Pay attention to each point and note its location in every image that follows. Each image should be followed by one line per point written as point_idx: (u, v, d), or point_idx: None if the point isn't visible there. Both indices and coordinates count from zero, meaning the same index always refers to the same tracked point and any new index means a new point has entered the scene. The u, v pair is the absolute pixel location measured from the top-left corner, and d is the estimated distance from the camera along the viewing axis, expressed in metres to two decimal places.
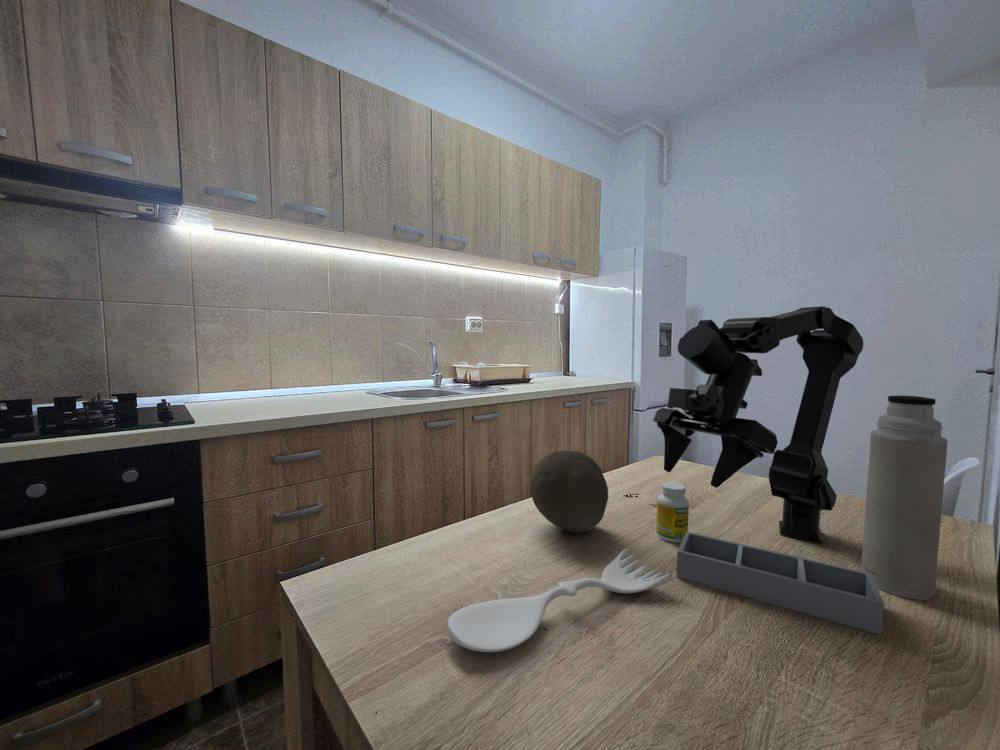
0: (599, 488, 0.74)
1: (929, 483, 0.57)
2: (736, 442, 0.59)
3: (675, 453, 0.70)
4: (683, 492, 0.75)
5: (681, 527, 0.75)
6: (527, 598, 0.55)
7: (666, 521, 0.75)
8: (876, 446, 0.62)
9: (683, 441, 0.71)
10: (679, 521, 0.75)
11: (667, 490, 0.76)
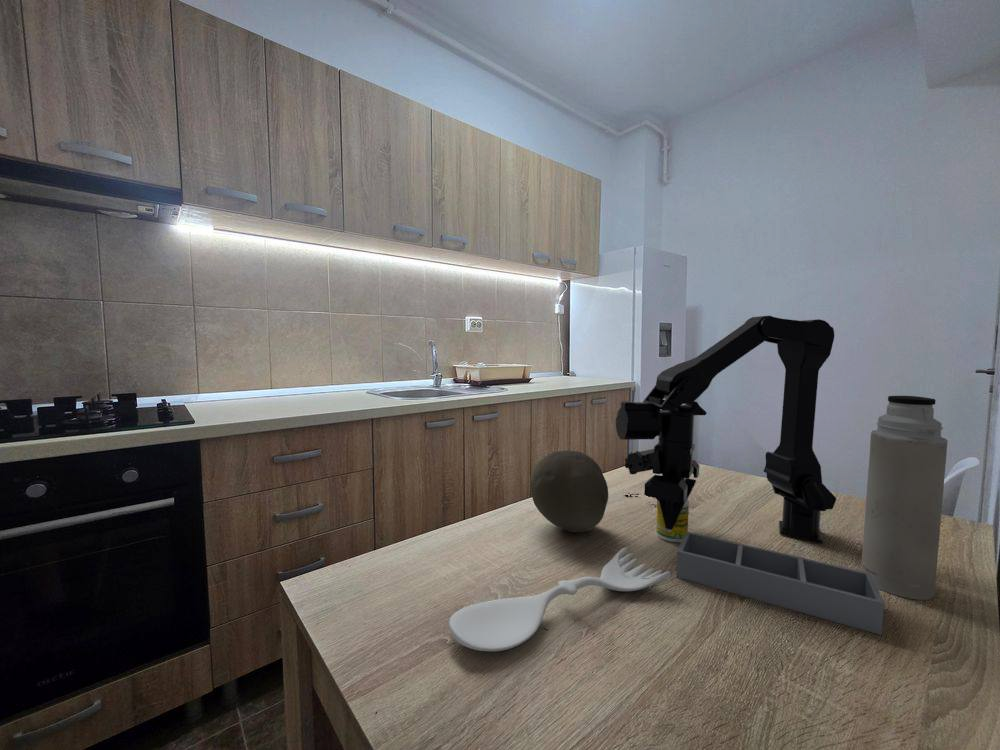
0: (599, 488, 0.74)
1: (929, 483, 0.57)
2: None
3: None
4: None
5: (681, 526, 0.75)
6: (528, 597, 0.55)
7: None
8: (876, 446, 0.62)
9: None
10: (679, 521, 0.75)
11: None
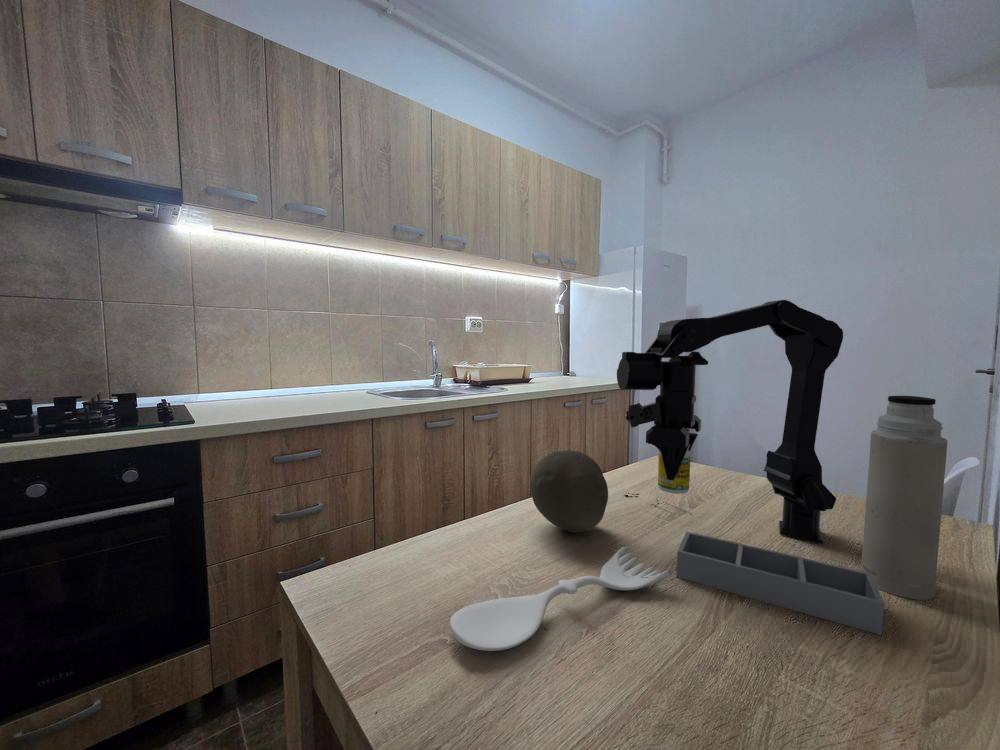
0: (599, 487, 0.74)
1: (929, 483, 0.57)
2: None
3: None
4: None
5: (683, 477, 0.74)
6: (528, 597, 0.55)
7: None
8: (876, 446, 0.62)
9: None
10: (681, 472, 0.74)
11: None
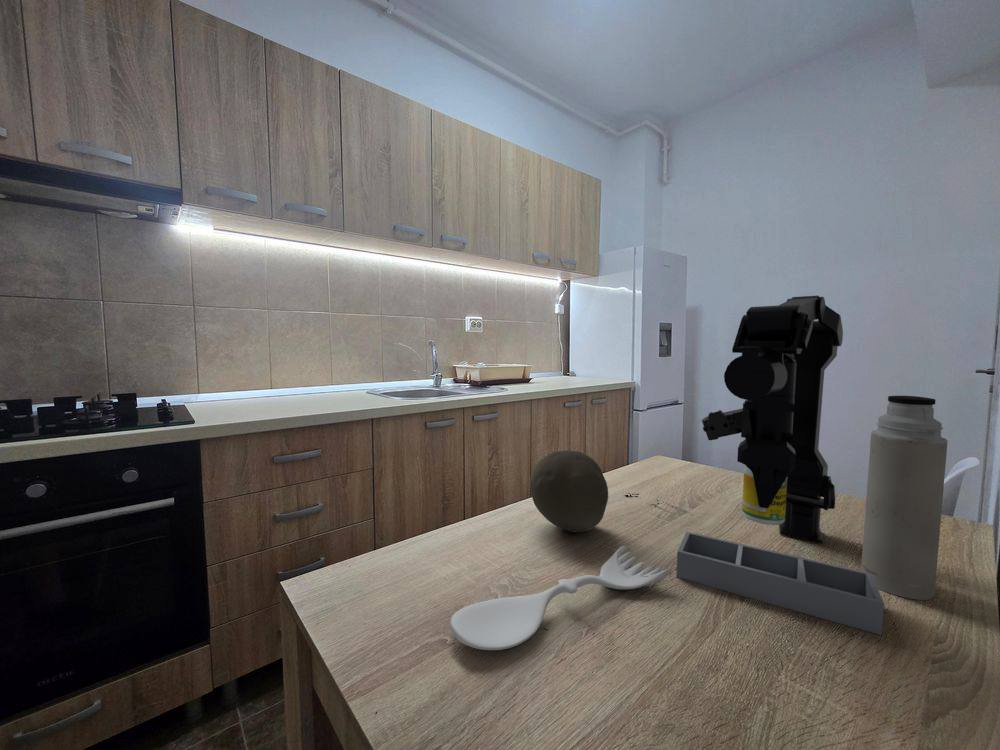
0: (599, 488, 0.74)
1: (929, 483, 0.57)
2: None
3: None
4: None
5: (779, 505, 0.59)
6: (529, 596, 0.55)
7: None
8: (876, 446, 0.62)
9: None
10: (777, 498, 0.59)
11: None
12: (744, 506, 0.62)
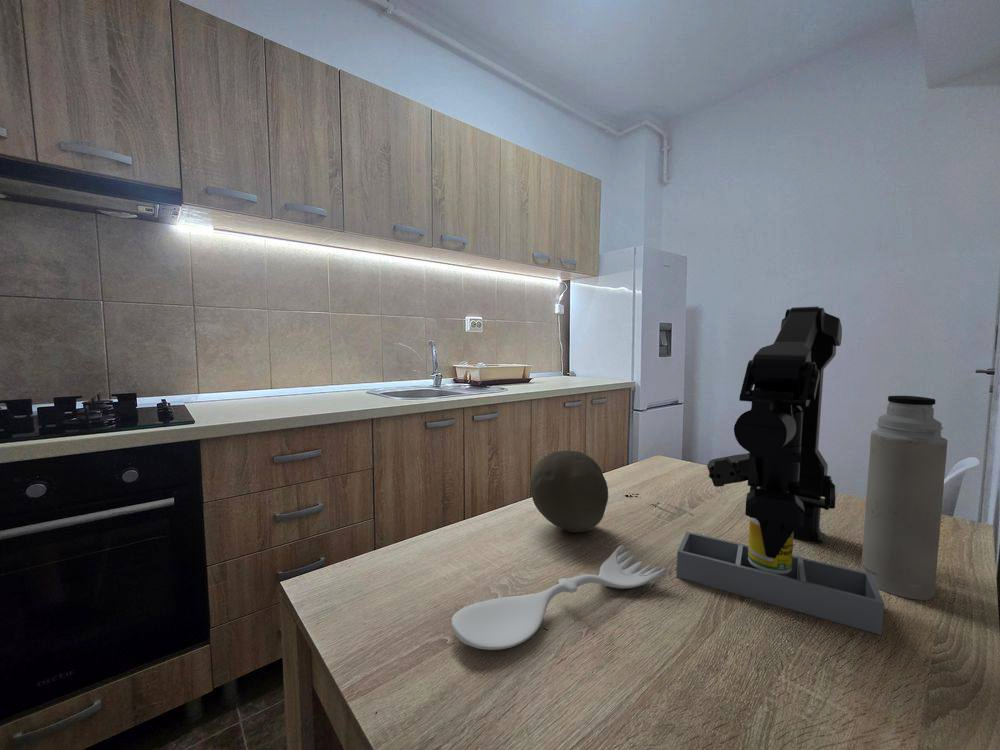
0: (599, 487, 0.74)
1: (929, 483, 0.57)
2: None
3: None
4: None
5: (786, 554, 0.58)
6: (529, 596, 0.55)
7: None
8: (876, 446, 0.62)
9: None
10: (784, 547, 0.58)
11: None
12: (750, 554, 0.61)
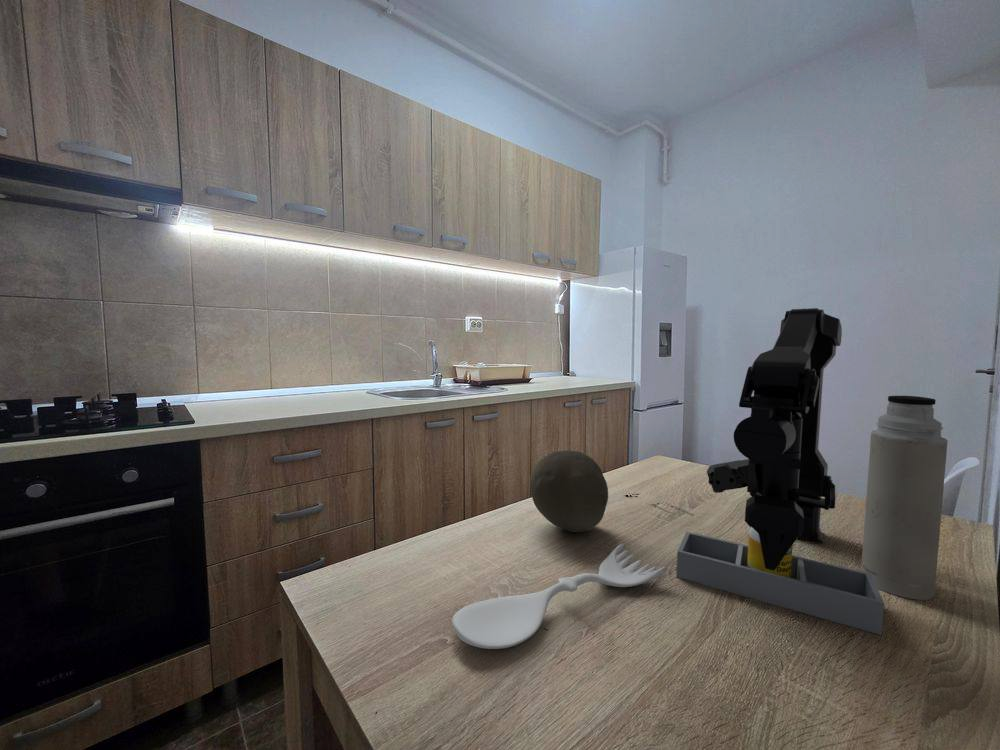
0: (599, 487, 0.74)
1: (929, 483, 0.57)
2: None
3: None
4: None
5: (785, 571, 0.58)
6: (529, 595, 0.55)
7: (764, 564, 0.59)
8: (876, 446, 0.62)
9: None
10: (783, 564, 0.58)
11: None
12: None
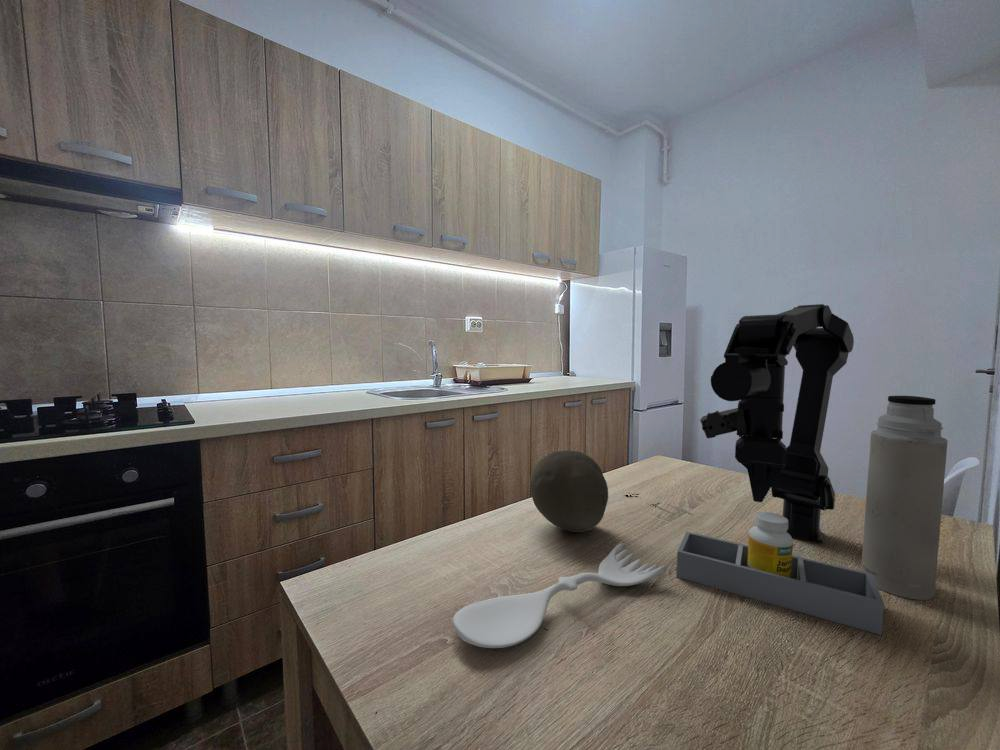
0: (599, 487, 0.74)
1: (929, 483, 0.57)
2: None
3: None
4: (787, 526, 0.59)
5: (785, 571, 0.58)
6: (529, 594, 0.55)
7: (764, 564, 0.59)
8: (876, 446, 0.62)
9: None
10: (783, 564, 0.58)
11: (765, 524, 0.59)
12: None
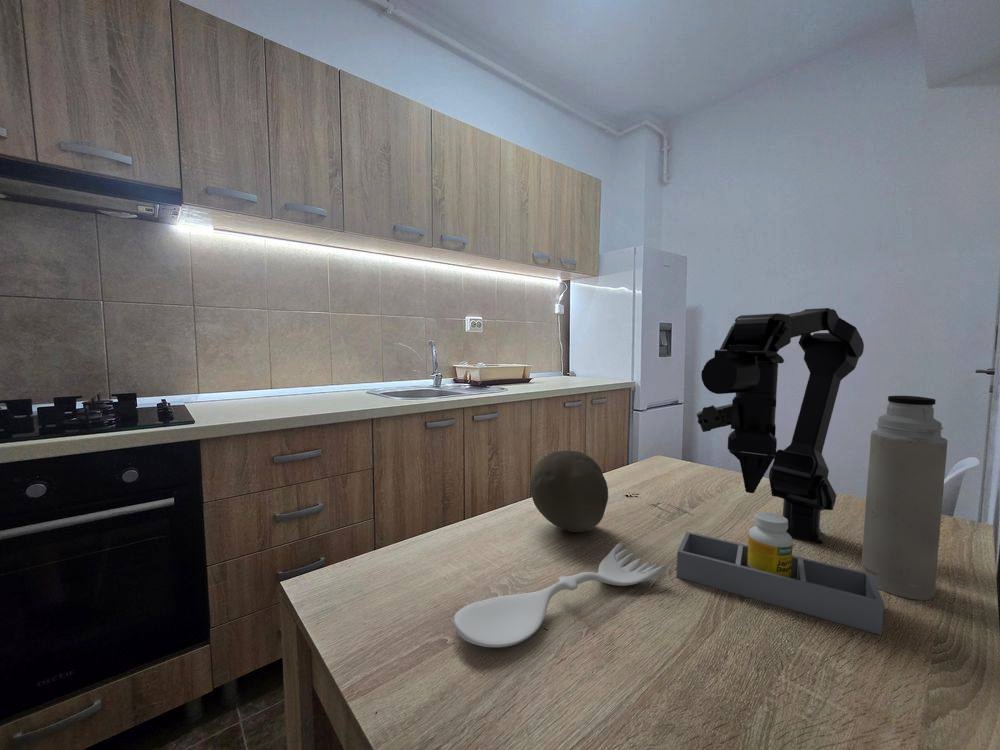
0: (599, 487, 0.74)
1: (929, 483, 0.57)
2: None
3: None
4: (786, 526, 0.59)
5: (785, 571, 0.58)
6: (530, 594, 0.56)
7: (764, 564, 0.59)
8: (876, 446, 0.62)
9: None
10: (783, 564, 0.58)
11: (765, 524, 0.59)
12: None
